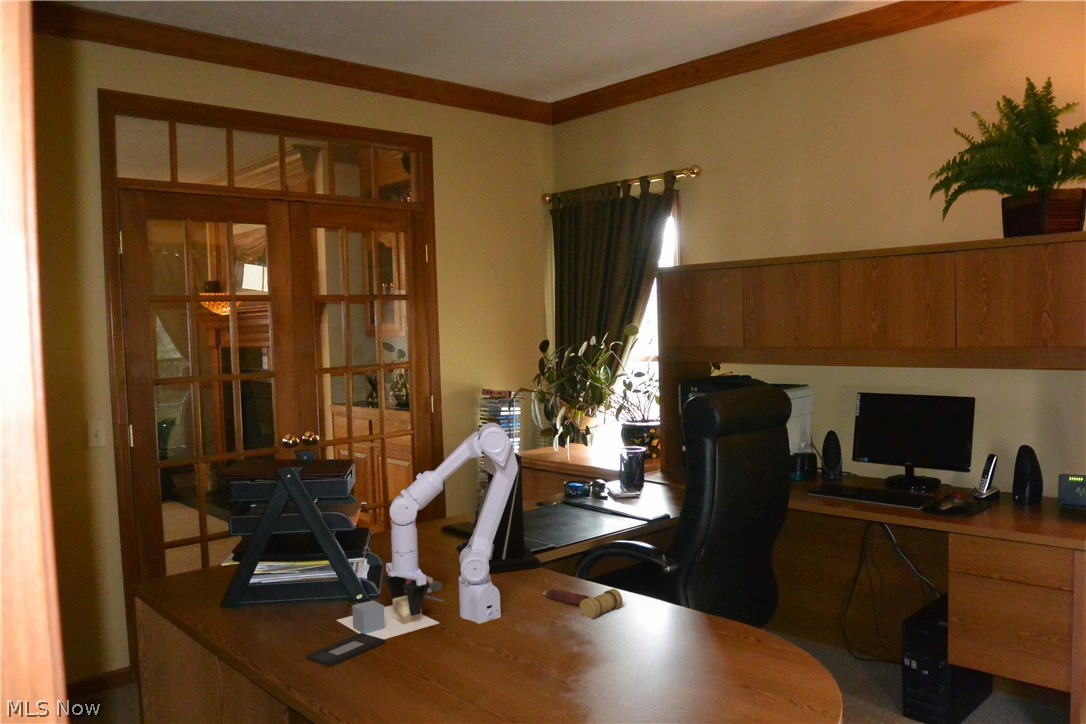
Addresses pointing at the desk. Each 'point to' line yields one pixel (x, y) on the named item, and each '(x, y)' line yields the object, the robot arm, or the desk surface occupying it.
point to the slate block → (368, 617)
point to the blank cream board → (392, 625)
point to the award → (507, 529)
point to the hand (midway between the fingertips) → (406, 609)
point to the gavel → (589, 601)
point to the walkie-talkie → (431, 587)
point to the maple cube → (404, 611)
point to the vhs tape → (345, 649)
